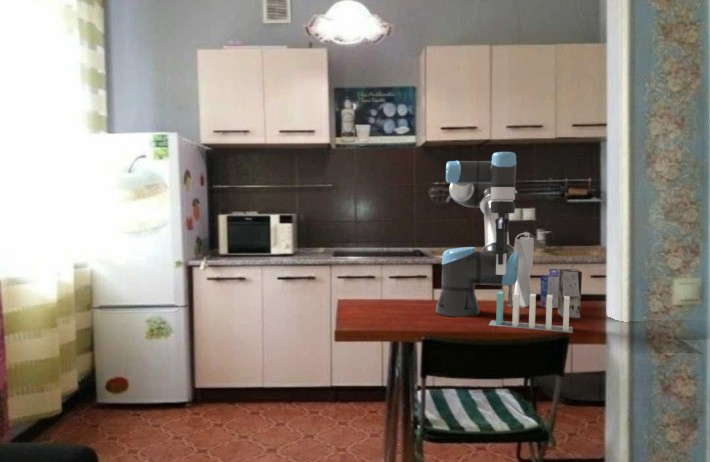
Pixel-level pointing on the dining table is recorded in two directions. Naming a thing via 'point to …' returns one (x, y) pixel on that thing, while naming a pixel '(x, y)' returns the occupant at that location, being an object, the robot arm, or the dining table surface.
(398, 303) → the dining table surface
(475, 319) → the dining table surface
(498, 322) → the teal domino
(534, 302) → the domino
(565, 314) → the domino
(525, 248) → the skyscraper
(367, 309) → the dining table surface
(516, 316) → the domino
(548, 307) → the domino
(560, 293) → the coffee box
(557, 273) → the ink cartridge box
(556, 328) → the gray flat rectangular plate
